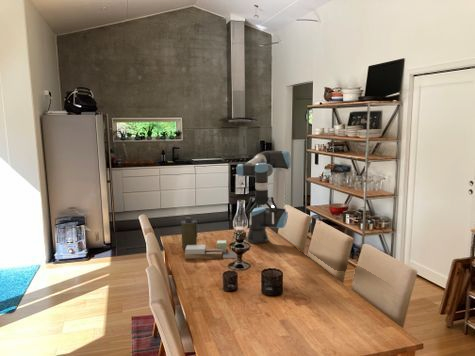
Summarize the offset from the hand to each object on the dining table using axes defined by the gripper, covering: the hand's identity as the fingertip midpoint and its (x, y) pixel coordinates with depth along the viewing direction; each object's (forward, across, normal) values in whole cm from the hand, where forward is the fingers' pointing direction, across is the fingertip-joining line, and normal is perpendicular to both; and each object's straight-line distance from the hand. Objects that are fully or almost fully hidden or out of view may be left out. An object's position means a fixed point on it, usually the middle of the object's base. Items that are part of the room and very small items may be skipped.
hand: (261, 223), depth 230 cm
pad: (+22, -20, +9) cm, 31 cm away
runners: (+22, -36, +10) cm, 43 cm away
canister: (+23, -46, +30) cm, 59 cm away
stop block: (+23, -24, +19) cm, 38 cm away
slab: (+19, -41, +10) cm, 46 cm away
